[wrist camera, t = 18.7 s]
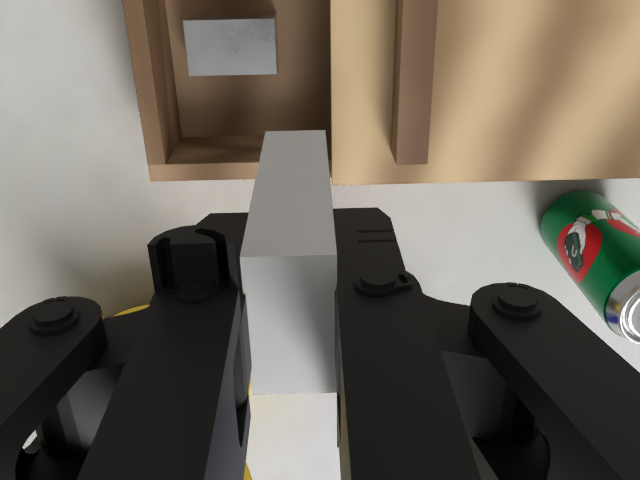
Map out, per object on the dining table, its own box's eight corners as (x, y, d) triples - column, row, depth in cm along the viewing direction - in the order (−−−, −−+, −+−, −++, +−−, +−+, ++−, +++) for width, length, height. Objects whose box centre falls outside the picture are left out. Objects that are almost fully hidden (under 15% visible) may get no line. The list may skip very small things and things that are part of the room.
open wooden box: (171, 148, 40) (150, 181, 35) (138, -91, 34) (107, -95, 29) (499, 140, 41) (528, 172, 35) (528, -99, 34) (569, -104, 29)
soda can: (544, 259, 45) (618, 362, 34) (531, 200, 43) (606, 290, 32) (613, 237, 44) (710, 335, 34) (603, 176, 42) (704, 261, 31)
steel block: (197, 65, 37) (189, 76, 35) (192, 13, 36) (182, 20, 33) (278, 63, 37) (276, 74, 35) (276, 12, 36) (274, 18, 33)
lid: (331, 178, 35) (334, 202, 32) (328, -100, 29) (331, -103, 26) (710, 169, 35) (748, 192, 32) (792, -109, 29) (848, -114, 26)
